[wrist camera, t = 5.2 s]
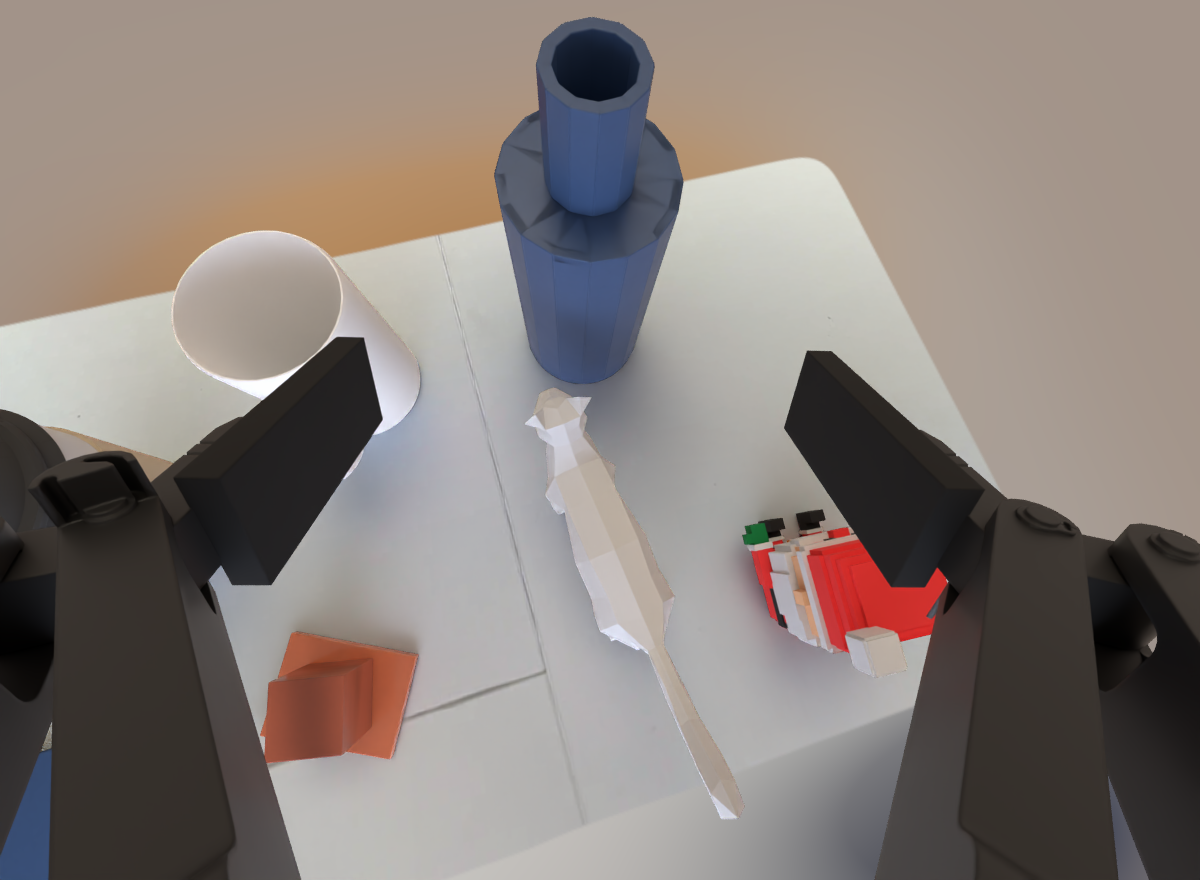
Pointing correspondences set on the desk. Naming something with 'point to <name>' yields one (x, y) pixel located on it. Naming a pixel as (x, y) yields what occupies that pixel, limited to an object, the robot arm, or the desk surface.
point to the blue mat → (30, 828)
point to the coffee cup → (44, 465)
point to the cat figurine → (621, 572)
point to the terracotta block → (318, 710)
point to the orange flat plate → (388, 684)
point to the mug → (283, 319)
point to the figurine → (839, 593)
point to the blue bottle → (588, 200)
